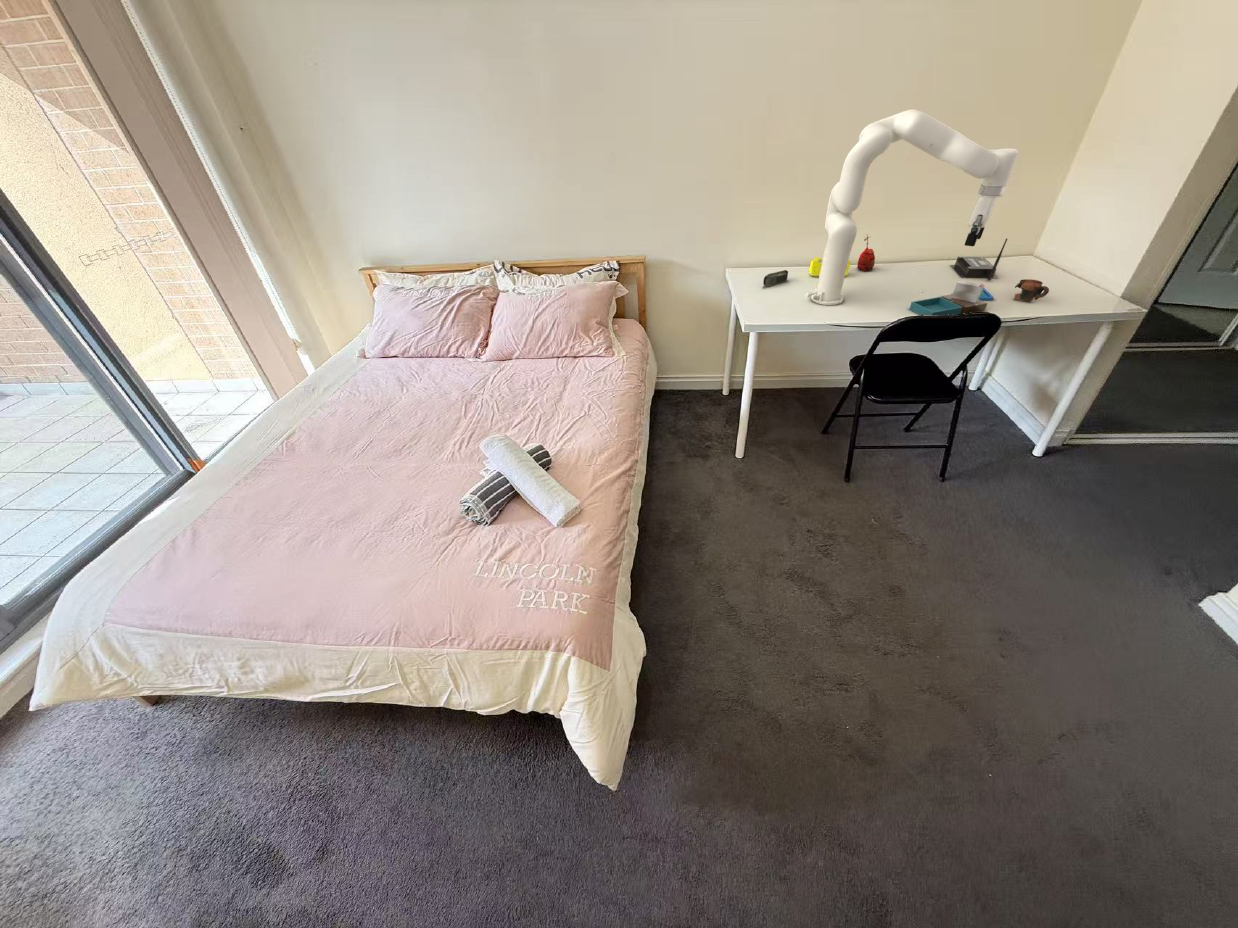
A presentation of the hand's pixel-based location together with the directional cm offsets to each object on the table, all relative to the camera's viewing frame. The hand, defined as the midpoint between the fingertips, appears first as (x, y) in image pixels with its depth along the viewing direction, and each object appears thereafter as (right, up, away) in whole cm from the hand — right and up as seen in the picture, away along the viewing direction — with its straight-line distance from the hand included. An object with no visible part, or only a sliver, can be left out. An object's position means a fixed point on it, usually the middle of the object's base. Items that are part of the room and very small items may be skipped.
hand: (972, 242), depth 182 cm
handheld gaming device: (+14, -13, +18) cm, 26 cm away
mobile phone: (-62, -2, +37) cm, 73 cm away
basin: (-10, -24, +7) cm, 27 cm away
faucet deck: (+2, -21, +9) cm, 23 cm away
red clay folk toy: (-18, +7, +45) cm, 49 cm away
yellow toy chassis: (-36, +3, +42) cm, 55 cm away
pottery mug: (+30, -18, +11) cm, 36 cm away
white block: (+2, -19, +7) cm, 20 cm away
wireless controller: (+26, +2, +34) cm, 43 cm away
